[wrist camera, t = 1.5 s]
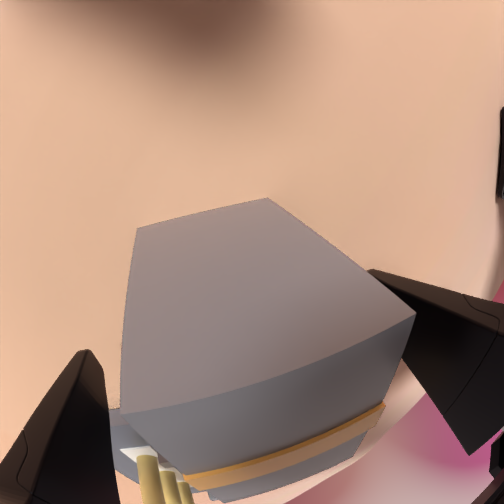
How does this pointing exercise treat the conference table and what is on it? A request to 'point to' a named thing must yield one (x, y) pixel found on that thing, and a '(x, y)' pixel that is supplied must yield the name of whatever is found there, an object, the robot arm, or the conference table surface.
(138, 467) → the header socket
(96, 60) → the conference table surface
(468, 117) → the conference table surface
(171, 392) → the plug
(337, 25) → the conference table surface
